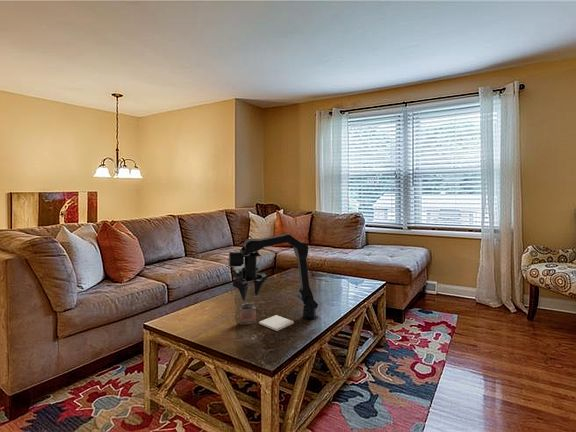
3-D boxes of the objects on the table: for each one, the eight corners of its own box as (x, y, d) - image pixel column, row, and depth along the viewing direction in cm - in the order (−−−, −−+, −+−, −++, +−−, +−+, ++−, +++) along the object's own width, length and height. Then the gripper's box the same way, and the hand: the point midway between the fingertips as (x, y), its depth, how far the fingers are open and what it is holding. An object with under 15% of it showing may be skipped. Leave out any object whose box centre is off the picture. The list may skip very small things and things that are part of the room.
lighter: (239, 324, 167) (239, 304, 166) (238, 322, 170) (238, 302, 169) (256, 323, 169) (256, 303, 168) (255, 320, 172) (255, 301, 171)
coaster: (276, 316, 177) (276, 315, 177) (293, 323, 169) (293, 321, 169) (259, 323, 168) (259, 321, 168) (276, 331, 160) (276, 328, 160)
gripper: (250, 259, 177) (249, 289, 178) (224, 266, 161) (224, 299, 163) (267, 263, 170) (267, 293, 172) (242, 270, 155) (241, 304, 156)
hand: (250, 297), depth 166 cm, fingers open, 9 cm apart
